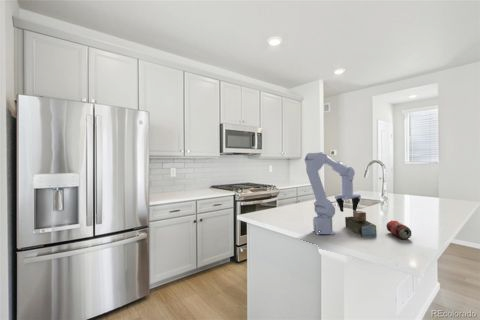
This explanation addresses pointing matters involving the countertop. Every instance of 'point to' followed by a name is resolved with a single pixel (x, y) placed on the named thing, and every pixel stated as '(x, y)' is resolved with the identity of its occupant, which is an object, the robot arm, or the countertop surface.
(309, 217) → the countertop surface
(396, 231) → the beverage can
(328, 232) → the robot arm
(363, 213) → the walnut block
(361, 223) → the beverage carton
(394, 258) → the countertop surface
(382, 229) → the countertop surface
